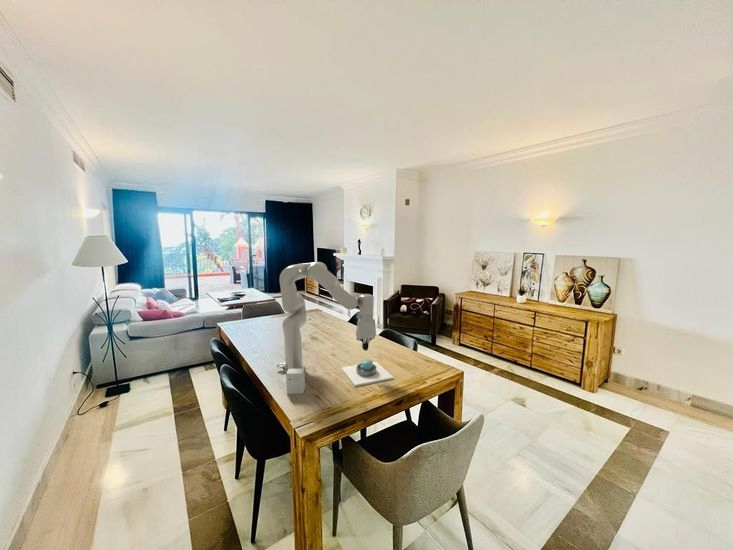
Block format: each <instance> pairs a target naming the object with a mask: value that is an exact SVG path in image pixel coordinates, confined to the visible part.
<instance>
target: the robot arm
mask: <svg viewBox="0 0 733 550" xmlns="http://www.w3.org/2000/svg"><path fill="white" fill-rule="evenodd" d="M279 274H280V275H279V286H280V295H281V296H280V297H281V305H282V310H283V311H284V312H285V313H286V314H287V313H288V315H287V316H286V317H284V319H283V321H282V331H283V341H284V360H283V362H282V363H276V368H279V369H282V372H284V373H285V374H286V373H287V371H288V369H299V368H304V370H305V369H306V365H305V364H304V363H303V346H302V343H303V342H302V334H301V328H302V327H303V326H304V325H305V324H306V322H307V309H306V301H305V299H304V296H303V295H302V294H301V293H299V292H297V286H296V281H298V280H301V279H306V278H307V279H308V278H311V279H313V280H314V281H315V282H316V283H318V284H319V285H321V287H323V288H324V289H325V290H327V292H328V293H329V294H330V296H331V297H332V298H333V299H334V300H335V301H336V302H337V303H338V304H340V305H341V306H342V307H344V309H346V310H354V309H356V308H357V307H359V313H358V315H357V316H356V318H357V322H356V330H355V335H356V337H355V340H356V341H360V342H361V343H362V344H361V347H362V350H363V351H368V350H369V343H370V342H371V341H372V340H374V339H376V336H377V330H376V329H377V327H376V320H375V319H374V306H375V305H374V304H375V303H374V301H375V297H374V295H372V294H370V293H359V292H351V293H349V292H348V291H346V290H345V288H344V287H343V286H342V285H341V283H340V280H339V278H338V277H337V276H335V275H334V274H333V273H332V272H331V271H330V270H328V267H327V264H325V263H324V262H321V261H317V262H305V263H304V262H303V263H297V264H291V265H289V266H287V267H285V268H284V269H283V270H281V273H279Z"/></svg>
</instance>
